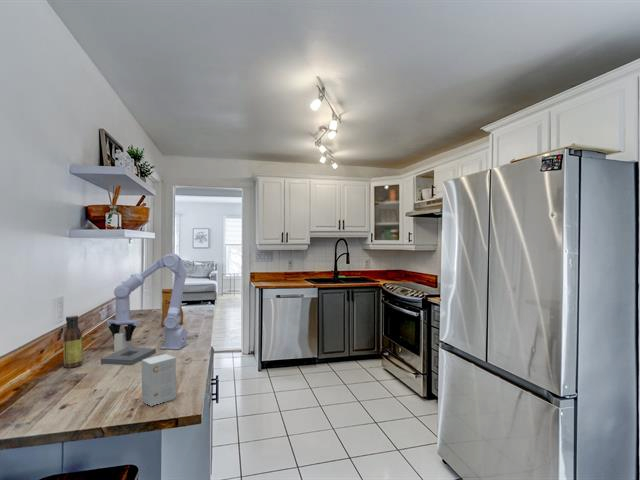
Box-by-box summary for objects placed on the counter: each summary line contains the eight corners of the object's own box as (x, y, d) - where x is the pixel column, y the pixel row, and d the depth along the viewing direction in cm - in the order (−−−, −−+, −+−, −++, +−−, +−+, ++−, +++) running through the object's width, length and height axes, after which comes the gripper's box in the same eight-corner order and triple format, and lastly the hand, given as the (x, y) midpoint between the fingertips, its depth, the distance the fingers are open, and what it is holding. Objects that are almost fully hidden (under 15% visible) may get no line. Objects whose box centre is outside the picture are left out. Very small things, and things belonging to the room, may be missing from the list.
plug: (130, 348, 166) (130, 331, 166) (122, 352, 161) (122, 334, 161) (122, 348, 167) (122, 331, 167) (114, 351, 161) (114, 334, 162)
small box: (166, 393, 116) (166, 353, 117) (176, 398, 112) (176, 357, 112) (141, 401, 110) (141, 359, 110) (150, 407, 106) (150, 363, 106)
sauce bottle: (86, 364, 145) (86, 315, 145) (71, 369, 139) (71, 318, 139) (74, 362, 147) (74, 314, 147) (59, 367, 141) (59, 317, 141)
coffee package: (182, 326, 212) (182, 289, 212) (159, 327, 209) (159, 289, 209) (184, 322, 222) (184, 287, 222) (162, 323, 218) (162, 287, 219)
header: (155, 353, 159) (155, 348, 159) (131, 365, 143) (131, 360, 143) (127, 351, 161) (127, 347, 161) (100, 363, 146) (100, 358, 146)
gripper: (101, 312, 161) (101, 342, 161) (131, 313, 159) (131, 343, 159) (113, 309, 168) (113, 338, 168) (141, 310, 166) (141, 339, 166)
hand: (122, 340), depth 164 cm, fingers open, 6 cm apart
